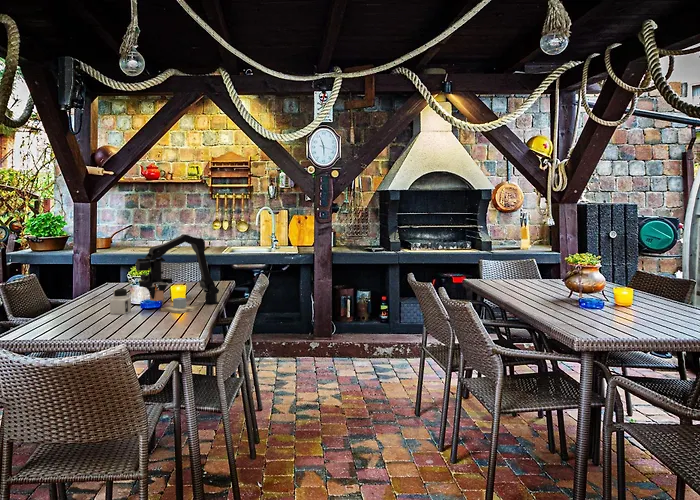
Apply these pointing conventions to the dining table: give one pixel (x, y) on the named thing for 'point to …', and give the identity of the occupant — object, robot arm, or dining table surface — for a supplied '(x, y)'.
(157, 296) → the terracotta block
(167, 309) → the birch base
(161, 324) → the dining table surface
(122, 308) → the container
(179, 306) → the gray block
